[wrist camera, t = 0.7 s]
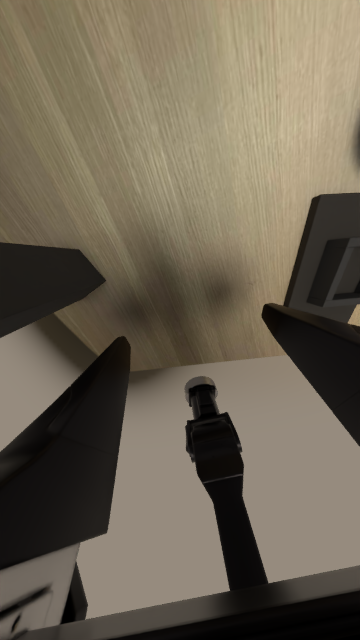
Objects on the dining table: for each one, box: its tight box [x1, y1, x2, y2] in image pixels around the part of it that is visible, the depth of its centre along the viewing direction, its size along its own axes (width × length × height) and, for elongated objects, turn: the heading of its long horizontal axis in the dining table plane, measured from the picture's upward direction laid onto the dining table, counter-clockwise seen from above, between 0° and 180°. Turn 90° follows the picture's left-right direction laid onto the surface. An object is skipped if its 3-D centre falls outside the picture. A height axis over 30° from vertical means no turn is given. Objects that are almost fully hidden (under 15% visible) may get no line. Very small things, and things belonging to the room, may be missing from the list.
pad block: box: [0, 242, 106, 338], centre depth 12 cm, size 4×4×13 cm
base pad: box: [284, 193, 360, 323], centre depth 19 cm, size 20×12×4 cm, turn 4°
